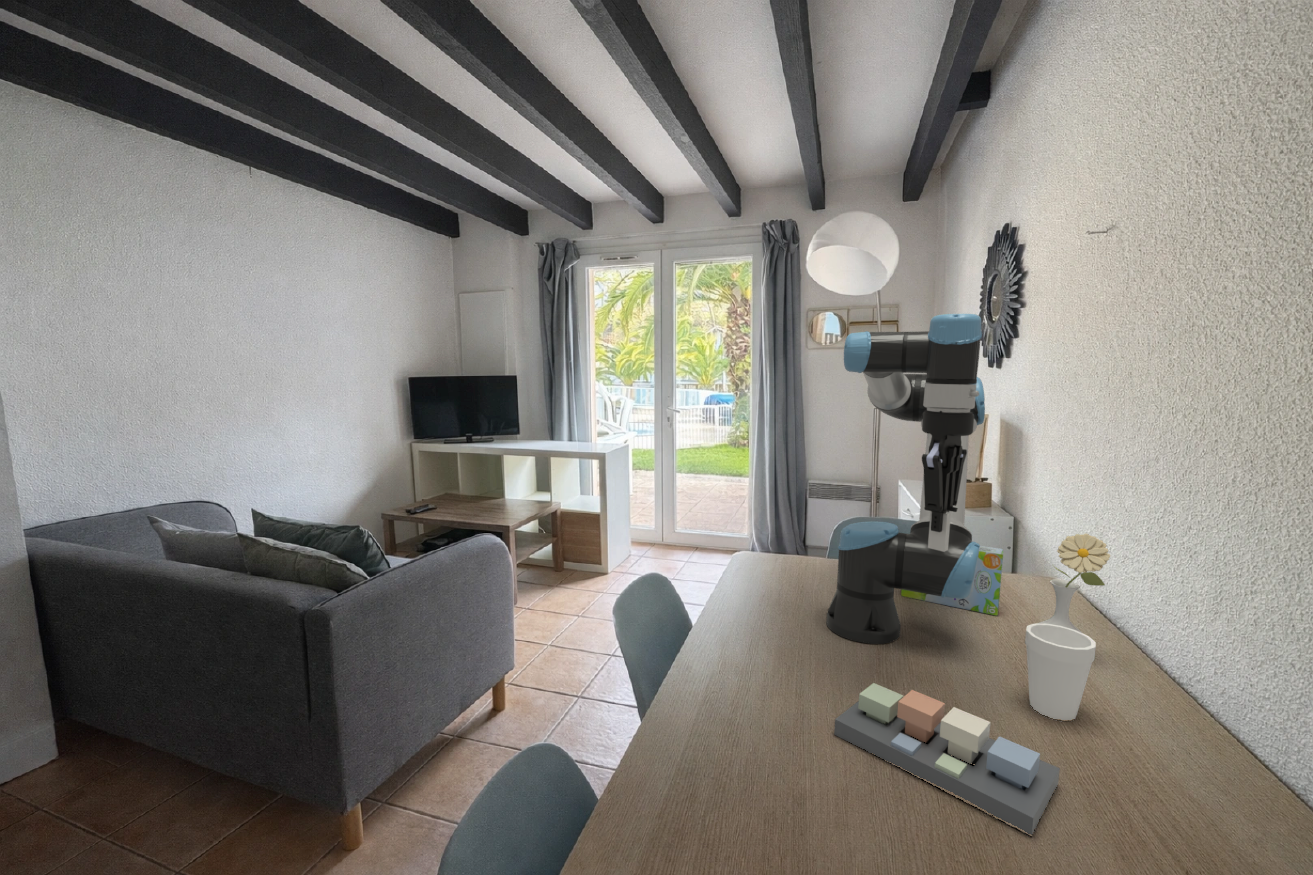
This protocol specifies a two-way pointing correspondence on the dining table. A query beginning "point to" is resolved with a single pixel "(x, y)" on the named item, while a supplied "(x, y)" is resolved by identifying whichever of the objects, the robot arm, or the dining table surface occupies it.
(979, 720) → the key cream
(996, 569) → the snack box
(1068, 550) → the flower in vase
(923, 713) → the key terracotta
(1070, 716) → the foam cup
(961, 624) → the dining table surface
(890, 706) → the key sage
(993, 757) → the key slate
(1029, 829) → the keypad
